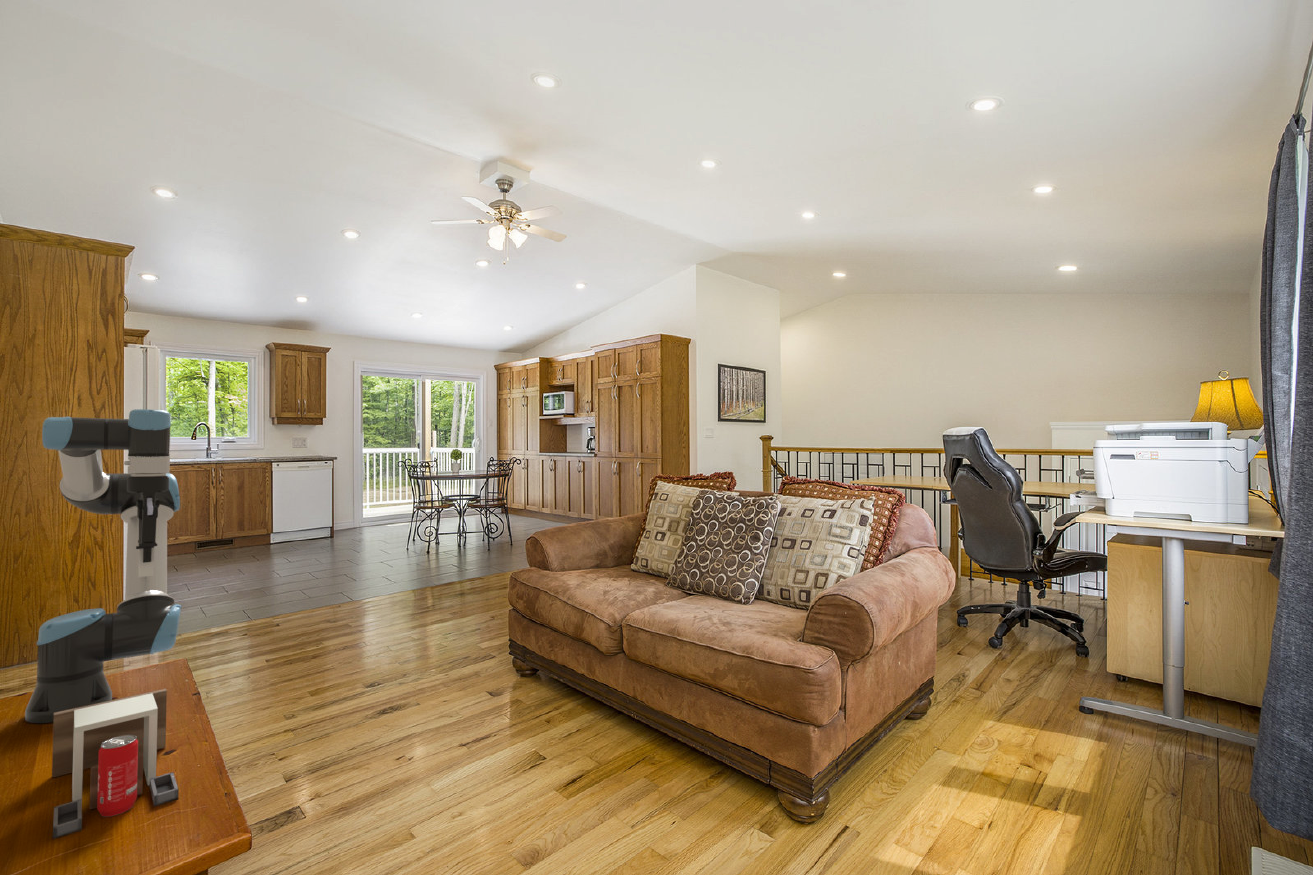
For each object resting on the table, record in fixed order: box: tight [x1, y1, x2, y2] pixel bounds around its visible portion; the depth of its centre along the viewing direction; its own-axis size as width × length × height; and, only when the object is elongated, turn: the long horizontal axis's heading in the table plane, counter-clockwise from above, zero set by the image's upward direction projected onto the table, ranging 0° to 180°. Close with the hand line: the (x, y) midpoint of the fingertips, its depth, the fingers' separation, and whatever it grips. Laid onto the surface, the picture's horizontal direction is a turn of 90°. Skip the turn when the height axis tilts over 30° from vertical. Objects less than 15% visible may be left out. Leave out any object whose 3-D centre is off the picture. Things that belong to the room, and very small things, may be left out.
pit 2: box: [149, 771, 179, 807], centre depth 110 cm, size 8×3×2 cm, turn 45°
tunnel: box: [71, 693, 158, 804], centre depth 113 cm, size 10×11×14 cm
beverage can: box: [96, 735, 138, 818], centre depth 105 cm, size 5×5×12 cm
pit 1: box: [52, 799, 83, 840], centre depth 101 cm, size 8×3×2 cm, turn 45°
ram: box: [51, 688, 168, 810], centre depth 114 cm, size 20×17×12 cm
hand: (146, 575), depth 138 cm, fingers closed
